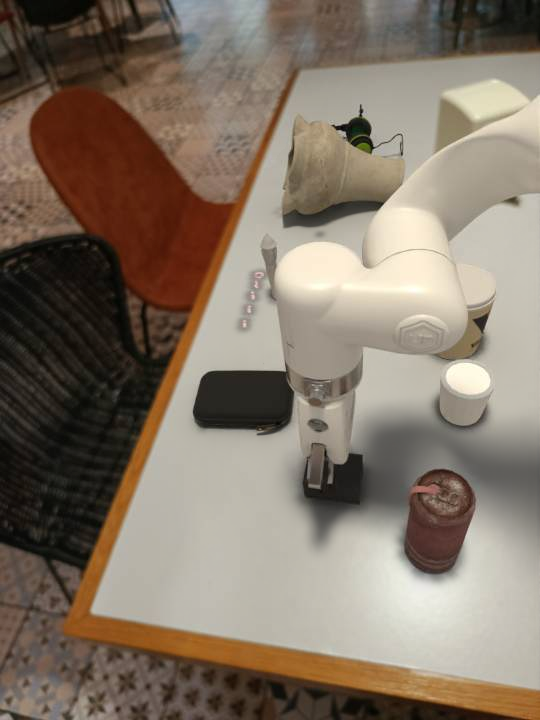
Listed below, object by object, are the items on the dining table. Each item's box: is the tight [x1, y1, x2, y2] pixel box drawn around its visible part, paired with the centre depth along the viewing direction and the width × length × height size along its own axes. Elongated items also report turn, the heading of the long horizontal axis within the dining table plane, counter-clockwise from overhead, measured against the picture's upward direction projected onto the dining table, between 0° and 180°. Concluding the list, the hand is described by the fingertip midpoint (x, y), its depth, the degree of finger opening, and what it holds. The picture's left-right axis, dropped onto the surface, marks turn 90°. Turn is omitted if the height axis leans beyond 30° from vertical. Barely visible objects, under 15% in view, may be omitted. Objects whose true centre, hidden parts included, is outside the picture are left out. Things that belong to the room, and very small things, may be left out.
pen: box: [259, 233, 278, 300], centre depth 89 cm, size 2×3×14 cm
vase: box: [281, 112, 406, 216], centre depth 104 cm, size 22×22×28 cm
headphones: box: [330, 103, 404, 157], centre depth 121 cm, size 16×10×20 cm
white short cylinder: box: [439, 358, 497, 427], centre depth 71 cm, size 7×7×7 cm
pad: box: [302, 449, 364, 505], centre depth 67 cm, size 7×5×4 cm
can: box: [404, 468, 477, 574], centre depth 57 cm, size 6×6×14 cm
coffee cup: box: [434, 263, 499, 361], centre depth 78 cm, size 9×9×12 cm
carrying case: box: [192, 369, 294, 432], centre depth 78 cm, size 11×3×15 cm
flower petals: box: [242, 271, 265, 329], centre depth 95 cm, size 15×2×1 cm, turn 169°
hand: (328, 454), depth 64 cm, fingers open, 9 cm apart
